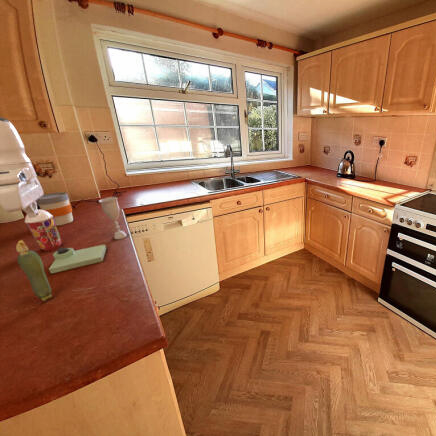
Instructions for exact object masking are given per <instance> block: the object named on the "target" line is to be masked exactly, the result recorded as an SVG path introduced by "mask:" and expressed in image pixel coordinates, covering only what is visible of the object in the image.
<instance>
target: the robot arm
mask: <svg viewBox="0 0 436 436" xmlns="http://www.w3.org/2000/svg"><path fill="white" fill-rule="evenodd" d="M25 148H26V147H25V145H24V142H23V140H22V138H21V136H20V134H19V132H18V130H17V128H16V127H15V126H14V124H13V123H12V121H10V120H9V119H7V118H5V117H2V116H0V205H1V207H2V208H3V210H5V211H6V212H7V213H11V212H13V213H14V212H19V211H23V212H24V213H25V214H26V215H28V217H29V218H34V217H36V216H37V215H38V214H39V212H38V210H37V209H38V204H37V202H36V200H37V199H38V198H40V197H41V196H42V195H45V193H44V189H43V186H42V185H41V183H40V180H39V179H38V174H37V172H36V171H35V168H34V166H33V163H32V161H31V159H30V158H29V157H28V155H27V154H26V150H25Z"/></svg>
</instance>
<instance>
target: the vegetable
mask: <svg viewBox="0 0 436 436" xmlns="http://www.w3.org/2000/svg"><path fill="white" fill-rule="evenodd" d="M15 249H16V252H18V255H17V263H18V265H19V267H20V268H21V269H22V271H23V272H24V273H25V275H26V277H27V279H28V281H29V285H30V286H31V289H32V292H33V293H34V294H35V296H36V297H37V298H38V299H41V301H43V302H46V301H47V300H50V299H51V298H52V296H53V295H52V293H53V292H52V288H51V284H50V282H49V280H48V278H47V274H46V272H45V268H44V267H45V266H44V263H43V261H42V258H41V256H40V255H39V254H38V253H37V252H36V251H34V250H31V249H30V250H29V247H28V246H27V244H26V243H25V241H24V240H23V239H20V240H19V241H17V244H16V247H15Z"/></svg>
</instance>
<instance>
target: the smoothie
mask: <svg viewBox="0 0 436 436" xmlns="http://www.w3.org/2000/svg"><path fill="white" fill-rule="evenodd" d="M37 210H38V212H39V214H38V215H37V216H36V217H34V218H29V217H28V215H27V214H26V215H25V219H24V223H25V225H26V226H27V228H28V229H29V230H28V231H30V233H31V235H32V236H33V238H34V240H35V242H36V243H37V245H38V247H39V248H40V249H42V250H43V251H47V252H48V251H52V250H57V249H59V248H61V247H62V243H63V242H62V239H61V236H60V233H59V231H58V228H57V226H56V224H55V221H54V218H53V215H51V214H50V213H49V212H47V211H45V210H40V208H39V209H38V208H37Z"/></svg>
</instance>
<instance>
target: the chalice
mask: <svg viewBox="0 0 436 436" xmlns="http://www.w3.org/2000/svg"><path fill="white" fill-rule="evenodd" d="M98 203H99V204H100V206H101V209H102V211H103V213H104V215H106V216H107V218H109V219H110V220H111V221H112V220H113V222H114V223H113V224H114V225H115V227H114V228H115V229H116V232H115V233H114V237H113V238H114V239H115V240H121V239H124V238H126V237H127V233H126V232H125V231H123V230H120V229H121V228H120V227H121V226H120V225H119V222H118V219H119V215H120V205H119V203H118V197H116V196H111V197H110V196H109V197H104V198H101V199H99V200H98Z"/></svg>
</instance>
